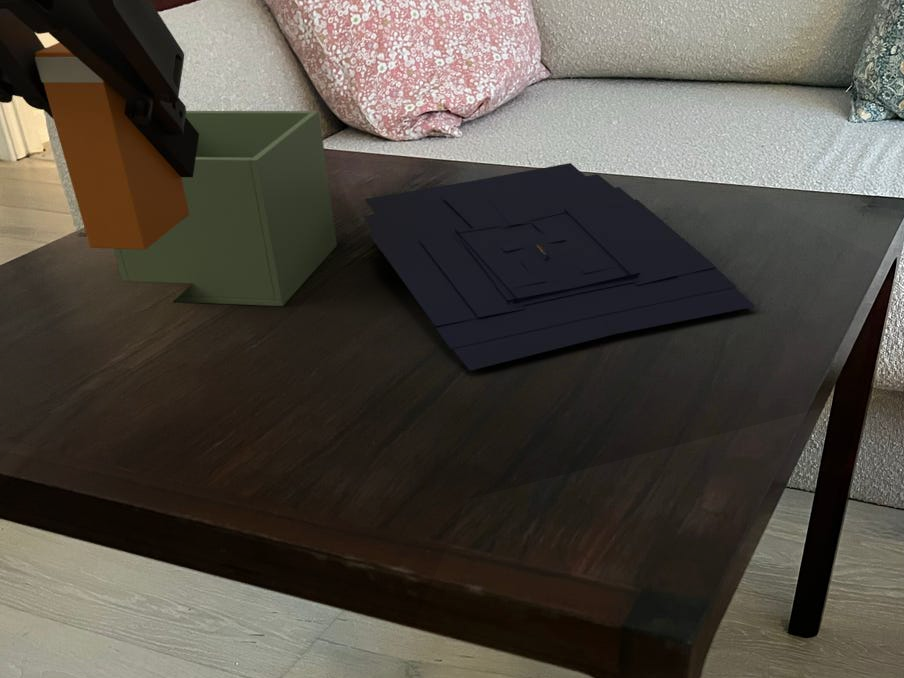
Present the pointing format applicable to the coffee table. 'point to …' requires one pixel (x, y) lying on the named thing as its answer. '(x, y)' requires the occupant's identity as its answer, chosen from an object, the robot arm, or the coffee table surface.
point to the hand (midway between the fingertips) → (157, 154)
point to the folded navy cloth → (542, 263)
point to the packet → (109, 158)
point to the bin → (246, 212)
